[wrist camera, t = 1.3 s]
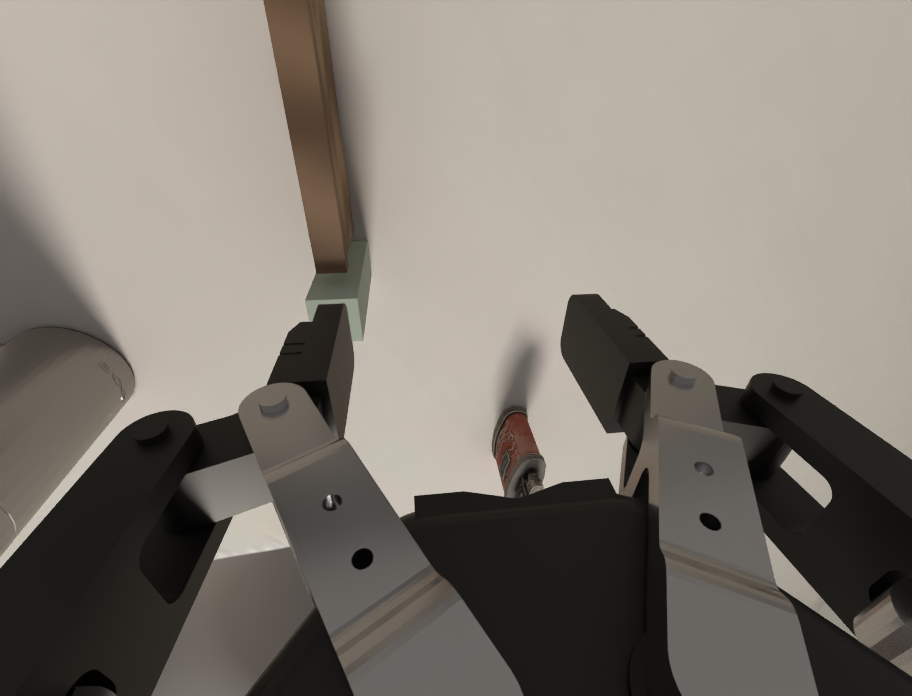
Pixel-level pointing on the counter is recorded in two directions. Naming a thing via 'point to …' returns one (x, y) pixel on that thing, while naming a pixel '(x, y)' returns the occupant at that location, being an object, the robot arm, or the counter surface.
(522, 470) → the lighter
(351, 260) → the latch post
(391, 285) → the counter surface
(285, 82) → the gate
